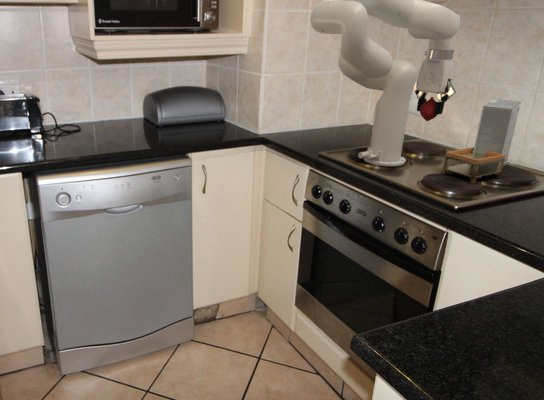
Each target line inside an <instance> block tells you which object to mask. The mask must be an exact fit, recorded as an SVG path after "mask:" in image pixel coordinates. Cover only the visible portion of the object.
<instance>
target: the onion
mask: <svg viewBox="0 0 544 400" xmlns="http://www.w3.org/2000/svg"><path fill="white" fill-rule="evenodd" d="M436 102H437V101H436V100H435V99H434V96H430V98H429V99H428V100H427V101H426V102H424V103H423V104H422V105H421V107H420V111H419V114H420V116H421V118H422V119H423V120H424V121H425V122H429V121H432V120H434V119H435V118H436V117H437V116H438V115H435V114H434V109H435V104H436Z"/></svg>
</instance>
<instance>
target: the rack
mask: <svg viewBox="0 0 544 400" xmlns="http://www.w3.org/2000/svg"><path fill="white" fill-rule="evenodd" d="M473 150H474V146H473V147H466V148H461V149H456V150H455V149H454V150H450V151H446V152H445V157H444V161H443V168H442V172H441V173H442V175H448V173H453V174H456V175H459V176H463V177H466V178H470V179H469V180H470V181H469V183H470V184H472V185H475V184H476V182H477V179H481V178H483V177H482V176H485V175H490V176H492V175H491V174H497V173H501V175H494V178H495V179H501V178H502V177H501V176H502V172H503V168H504V167H503V165H504V160H505V156H506V155H504V154H499V153H495V152H490V151H486V154H481V153H474V152H473ZM451 160H452V161H455V162H460V163H461V164H455V165H451V166H450V163H451ZM496 162H498V167H497V170H496V169H492V168H487V167H481V165H486V164H491V163H496Z"/></svg>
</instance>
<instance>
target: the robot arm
mask: <svg viewBox="0 0 544 400" xmlns="http://www.w3.org/2000/svg"><path fill="white" fill-rule="evenodd" d="M369 16H371V17H373V18H375V19H378V20H380V21H382V22H384V23H386V24H388V25H390V26H392V27H397V28H401V29H407V32H408V34H409V35H410V36H411V37H412V38H414V39H419V40H428V44H427V50H426V51H424V55H425V56H426V57H425V58H424V59H423V60H422V62H421V64H420V68H419V71H418V69H417V67H416V65H415V64H414V63H412V62H410V61H408V60H404V59H395V58H393V56H392V54H391V53H390V52H389V51H388V50H387V49H386V48H384V47H383V46H381V45H380V44H378V43H377V42H375V40H372V39H371V38H370V37H369V36H368V25H369ZM309 22H310V26H311V28H312V29H313V30H314V31H315V32H317V33H318V34H323V35H324V34H325V35H326V34H327V35H340V36H341V39H340V40H341V41H340V49H339V57H338V62H337V63H338V68H339V71H340V72H341V73H342V75H343V76H344V77H346V78H348V79H349V80H351V81H352V82H354V83H356V84H358V85H359V86H361V87H363V88H366V89H369V90H376V91H381V92H382V94H381V95H380V97H379V98H378V99H377V101H376V103H375V108H374V115H373V122H372V129H371V137H370V144H369V147H367V150H366V151H360V152H358V154H357V155H358V158H359V159H363V161H364V162H365V163H368V164H370V165H373V166H380V167H401V166H403V165H405V164H406V158H405V157H403V156H402V152H403V145H404V139H405V133H406V127H407V122H408V121H407V120H408V113H409V108H410V102H411V97H412V94H413V91H414V93H415V95H416V99H417V104H416V112H420V107H421V105H422V104H423V103H424V102H426V101H428V100H427V96H428V94H429V93H432V94H436V97H437V101H436V104H435V109H434V114H435V115H437V116H439V115H442V114H443V112H444V107H445V103H447V101H448V100H449V99H450V98H451V97H453V96H454V95H455V94H457V90H456V88H455V87H454V85H453V80H454V71H455V70H454V69H455V63H454V60H453V59H454V58H453V57H454V54H455V53H454V52H455V49H456V44H457V39H458V33H459V29H460V26H461V23H460V22H461V17H460V15H459V14H456V12H455V11H453V10H452V9H450V8H448V7H446V6H444V5H441V4H438V3H436V2H431V1H428V0H321V1H319V2H318V3H317V4H316V5H315V6H314V8H313V10H312V11H311V14H310V21H309Z"/></svg>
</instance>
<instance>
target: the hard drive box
mask: <svg viewBox="0 0 544 400" xmlns="http://www.w3.org/2000/svg"><path fill="white" fill-rule="evenodd" d="M521 103H522V102H521V101H520V100H511V99H500V98H499V99H498V98H493V99H491V100H490V101H488V102H486V103H485V104H484V105H483V106H482V109H481V114H480V117H479V123H478V128H477V133H476V137H475V142H474V146H473V147H474V150H473V152H474V153H481V154H486V151H490V152H495V153H499V154H504V155H506V156H505V160H504V164H505V165H504V166H503V168H504V167H505V166H506V164H507V163H508V158H509V156H510V155H509V154H510V151H511V147H512V146H511V145H512V142H513V137H514V133H515V129H516V124H517V121H518V116H519V112H520V108H521ZM481 167H487V168H492V169H496V170H497V167H498V162H496V163H491V164H486V165H481ZM495 175H496V174H495ZM495 175H494V176H495Z"/></svg>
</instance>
